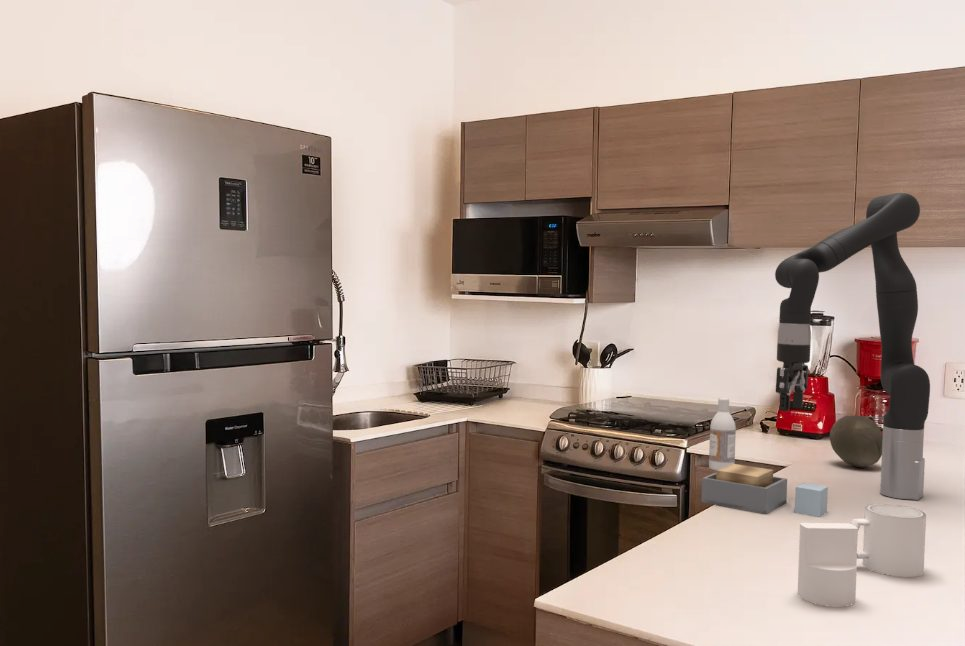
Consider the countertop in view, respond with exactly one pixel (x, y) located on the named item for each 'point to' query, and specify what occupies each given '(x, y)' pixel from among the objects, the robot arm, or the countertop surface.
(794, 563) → the countertop surface
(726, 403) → the bath foam
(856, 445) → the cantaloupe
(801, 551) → the base with upright slab
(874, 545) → the mug
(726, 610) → the countertop surface
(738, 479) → the oak block
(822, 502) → the light blue cube
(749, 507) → the tote
